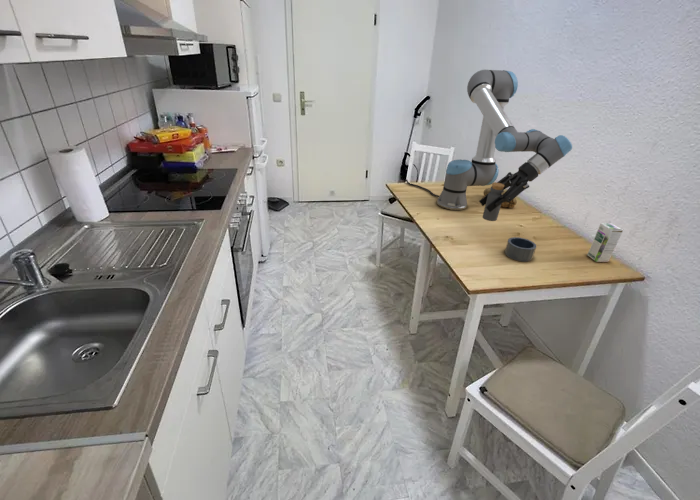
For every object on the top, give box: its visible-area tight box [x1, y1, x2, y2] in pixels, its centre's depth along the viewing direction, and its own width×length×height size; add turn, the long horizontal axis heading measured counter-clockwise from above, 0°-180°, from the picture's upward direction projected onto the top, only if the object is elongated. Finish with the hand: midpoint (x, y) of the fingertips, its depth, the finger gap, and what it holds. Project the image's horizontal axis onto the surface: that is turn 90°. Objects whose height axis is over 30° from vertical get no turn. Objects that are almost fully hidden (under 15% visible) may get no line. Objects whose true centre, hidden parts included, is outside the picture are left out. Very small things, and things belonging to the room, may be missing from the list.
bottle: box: [482, 182, 505, 222], centre depth 149 cm, size 6×6×15 cm
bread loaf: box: [483, 187, 518, 209], centre depth 198 cm, size 13×8×20 cm
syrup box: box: [586, 222, 624, 263], centre depth 142 cm, size 6×6×14 cm
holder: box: [504, 236, 537, 263], centre depth 144 cm, size 10×10×6 cm
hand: (484, 206), depth 149 cm, fingers closed on bottle, 6 cm apart
